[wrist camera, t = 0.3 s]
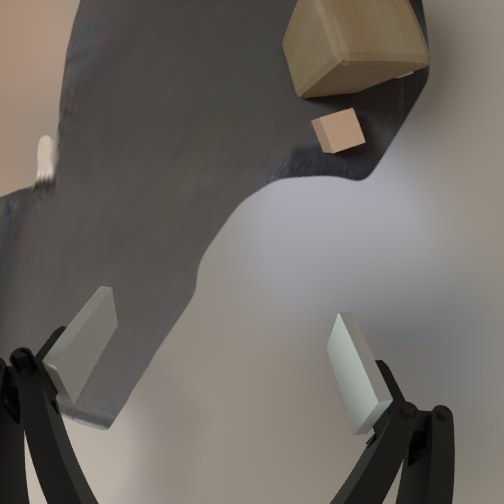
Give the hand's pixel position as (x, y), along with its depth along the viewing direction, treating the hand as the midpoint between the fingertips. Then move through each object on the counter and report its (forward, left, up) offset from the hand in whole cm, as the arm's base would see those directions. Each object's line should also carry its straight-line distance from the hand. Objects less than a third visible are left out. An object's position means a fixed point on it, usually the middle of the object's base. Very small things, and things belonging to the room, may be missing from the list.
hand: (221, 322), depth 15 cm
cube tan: (-14, +12, -28) cm, 33 cm away
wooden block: (-24, +9, -28) cm, 38 cm away
